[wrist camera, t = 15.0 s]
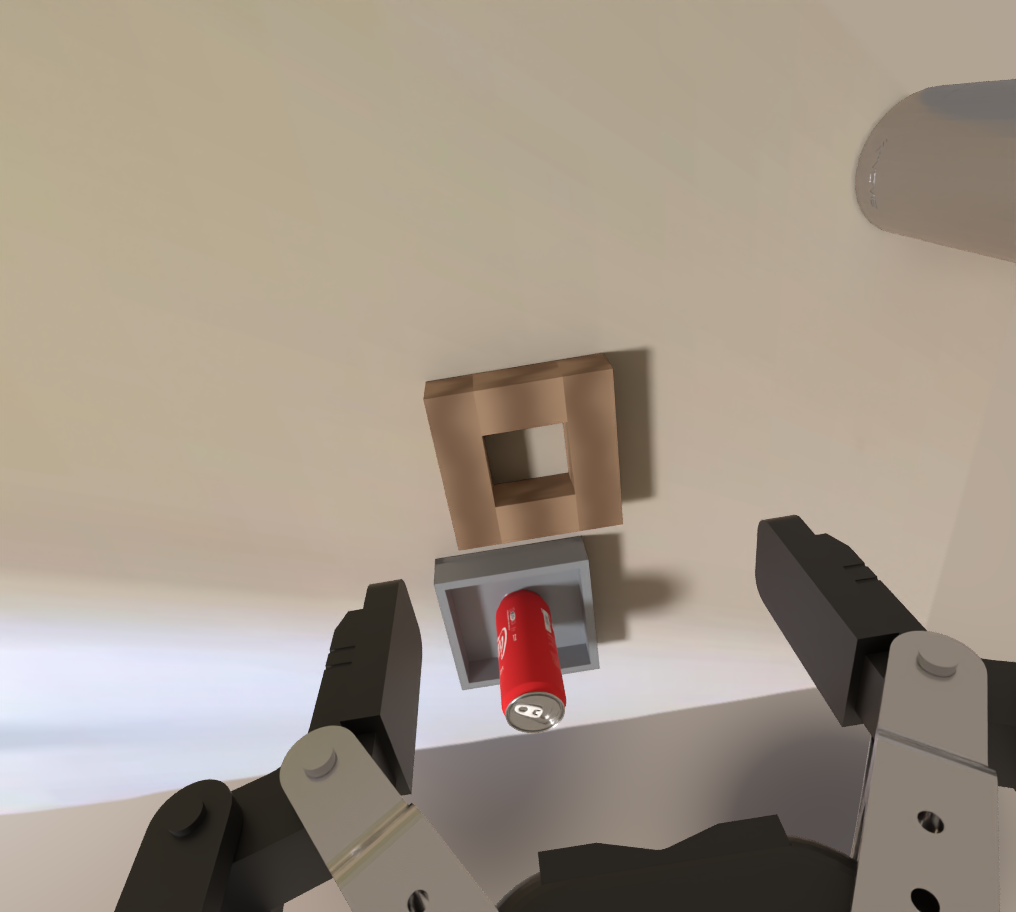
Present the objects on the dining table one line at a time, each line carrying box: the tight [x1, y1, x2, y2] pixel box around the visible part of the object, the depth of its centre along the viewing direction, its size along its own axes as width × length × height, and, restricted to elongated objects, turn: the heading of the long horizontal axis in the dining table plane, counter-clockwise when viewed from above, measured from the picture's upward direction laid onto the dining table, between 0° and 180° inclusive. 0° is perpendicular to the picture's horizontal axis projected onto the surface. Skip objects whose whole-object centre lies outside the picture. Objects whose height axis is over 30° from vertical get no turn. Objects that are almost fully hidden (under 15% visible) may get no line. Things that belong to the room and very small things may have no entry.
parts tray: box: [434, 536, 600, 690], centre depth 57 cm, size 14×14×4 cm
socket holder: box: [423, 353, 623, 550], centre depth 49 cm, size 14×14×4 cm
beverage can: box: [496, 590, 566, 733], centre depth 52 cm, size 5×5×12 cm
